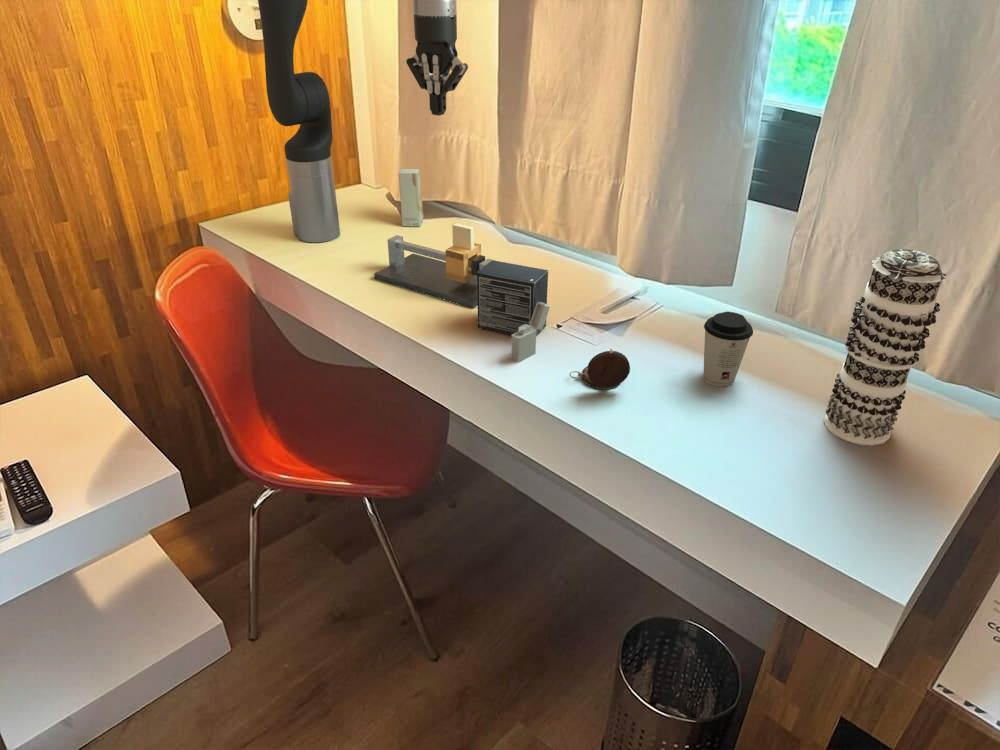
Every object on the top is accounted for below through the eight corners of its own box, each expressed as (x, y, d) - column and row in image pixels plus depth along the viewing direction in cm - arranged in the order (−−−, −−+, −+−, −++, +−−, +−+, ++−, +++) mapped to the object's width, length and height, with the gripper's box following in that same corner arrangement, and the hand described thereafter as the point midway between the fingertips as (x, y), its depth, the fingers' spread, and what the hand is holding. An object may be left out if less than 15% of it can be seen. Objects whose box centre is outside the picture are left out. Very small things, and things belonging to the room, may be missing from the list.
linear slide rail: (374, 279, 140) (371, 245, 136) (413, 258, 148) (411, 226, 145) (472, 308, 129) (472, 272, 125) (508, 284, 138) (508, 250, 134)
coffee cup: (734, 395, 106) (747, 335, 100) (688, 382, 109) (698, 323, 103) (748, 374, 111) (761, 316, 105) (703, 362, 114) (714, 304, 108)
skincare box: (420, 227, 164) (417, 173, 157) (401, 227, 164) (398, 173, 157) (424, 217, 169) (421, 165, 163) (405, 217, 169) (402, 165, 163)
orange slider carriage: (446, 278, 134) (444, 228, 129) (463, 267, 138) (462, 219, 133) (464, 283, 132) (463, 233, 127) (481, 272, 136) (480, 223, 131)
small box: (548, 325, 124) (550, 268, 119) (533, 341, 119) (535, 283, 113) (492, 313, 128) (492, 257, 122) (476, 328, 123) (475, 271, 117)
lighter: (518, 362, 113) (519, 317, 109) (510, 358, 114) (511, 313, 110) (548, 346, 118) (550, 302, 113) (540, 343, 119) (542, 299, 114)
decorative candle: (907, 445, 96) (974, 271, 82) (840, 448, 95) (896, 273, 82) (872, 406, 103) (928, 241, 90) (809, 409, 103) (856, 243, 90)
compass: (617, 367, 112) (622, 326, 108) (627, 395, 106) (632, 352, 102) (566, 368, 112) (569, 327, 108) (573, 397, 105) (576, 353, 101)
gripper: (392, 10, 127) (398, 113, 136) (452, 16, 121) (454, 123, 130) (419, 7, 132) (423, 106, 141) (478, 12, 126) (478, 115, 135)
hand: (438, 114), depth 136 cm, fingers closed
